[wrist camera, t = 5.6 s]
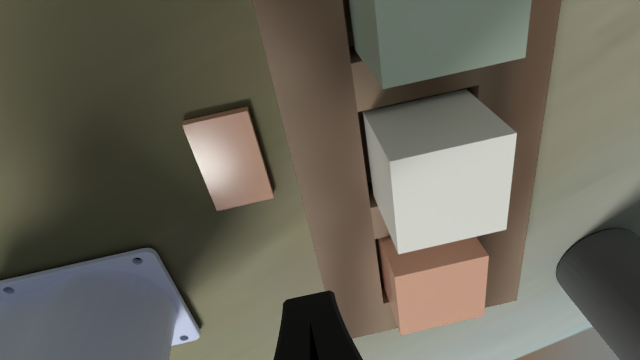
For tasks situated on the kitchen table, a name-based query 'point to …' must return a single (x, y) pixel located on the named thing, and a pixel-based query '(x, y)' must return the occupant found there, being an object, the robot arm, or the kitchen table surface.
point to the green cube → (436, 36)
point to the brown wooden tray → (352, 153)
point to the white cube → (440, 169)
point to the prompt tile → (229, 158)
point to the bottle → (607, 287)
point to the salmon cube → (434, 283)
